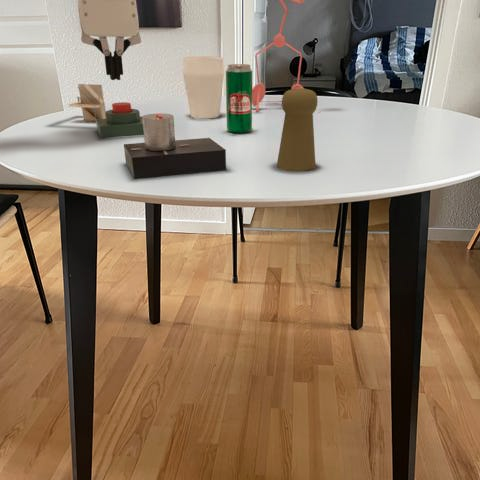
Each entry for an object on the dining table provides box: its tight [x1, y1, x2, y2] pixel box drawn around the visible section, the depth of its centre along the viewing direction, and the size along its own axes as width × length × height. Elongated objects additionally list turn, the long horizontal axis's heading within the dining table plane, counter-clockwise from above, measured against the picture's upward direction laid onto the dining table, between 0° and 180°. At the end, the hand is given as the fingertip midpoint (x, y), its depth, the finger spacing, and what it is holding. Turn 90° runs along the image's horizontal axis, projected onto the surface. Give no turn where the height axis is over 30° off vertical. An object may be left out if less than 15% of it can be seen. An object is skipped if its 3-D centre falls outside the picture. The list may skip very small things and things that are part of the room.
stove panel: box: [123, 137, 227, 179], centre depth 77 cm, size 14×9×3 cm, turn 109°
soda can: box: [225, 63, 253, 135], centre depth 97 cm, size 5×5×12 cm
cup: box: [182, 56, 225, 120], centre depth 112 cm, size 9×9×12 cm
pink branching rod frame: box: [252, 0, 321, 114], centre depth 116 cm, size 15×26×35 cm, turn 76°
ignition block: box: [95, 108, 144, 139], centre depth 99 cm, size 10×8×4 cm
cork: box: [276, 87, 318, 172], centre depth 75 cm, size 6×6×11 cm
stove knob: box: [141, 112, 176, 151], centre depth 74 cm, size 5×5×5 cm
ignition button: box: [111, 101, 132, 113], centre depth 98 cm, size 4×4×2 cm
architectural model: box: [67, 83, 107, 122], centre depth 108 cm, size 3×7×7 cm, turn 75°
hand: (115, 79), depth 95 cm, fingers closed
